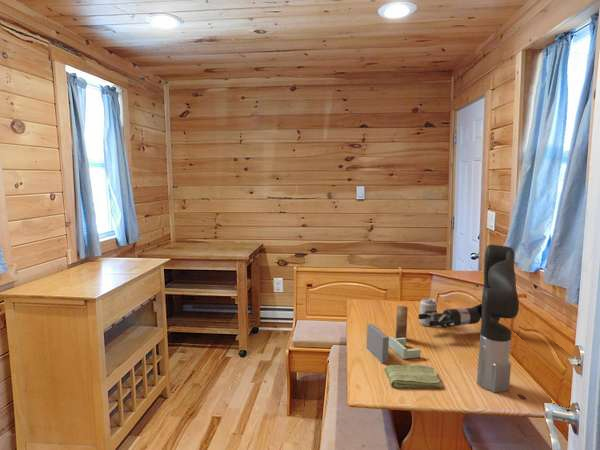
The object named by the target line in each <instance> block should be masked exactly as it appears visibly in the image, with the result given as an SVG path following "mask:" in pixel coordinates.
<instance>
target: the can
mask: <svg viewBox="0 0 600 450" xmlns="http://www.w3.org/2000/svg"><path fill="white" fill-rule="evenodd" d="M437 305H438V303H437V301H436V299H435V298H430V297H424V298H421V301H420V302H419V314H425V311H437V312H438V310H437V309H438V306H437ZM433 319H434V317H433ZM418 321H419V324H421V326H423V327H430V326H429V321H432V320H431V319H419V320H418Z"/></svg>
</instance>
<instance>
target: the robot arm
mask: <svg viewBox="0 0 600 450" xmlns="http://www.w3.org/2000/svg"><path fill="white" fill-rule="evenodd" d="M515 256H516V255H515V250H514V248H512V247H510V246H507V245H506V246H503V245H496V244H488V245H487V247H486V249H485V252H484V262H483V263H484V264H483V290H482V297H481V303H479V304H477V305H475V306H473V307H466V308H465V307H464V308H463V307H462V308H461V307H459V308H447V309H445V310H443V312H438V310H437V311H425V314H420V313H419V314H418V315H417V316H418V319H431V320H432V321H429V326H428V327H441V329H445V328H452V327H453V328H454V327H461V326H466V325H475V324H479V322H481V323H480V336H479V337H480V338H479V346H478V347H479V348H478V361H477V373H476V374H477V376H476V384H477V385H478V386H479V387H481V388H483V389H484V390H487V391H491V392H492V393H500V392H507V391H509V390H510V383H511V381H510V380H511V370H512V363H511V362H510V353H511V341H512V330H511V329H510V328H509V327H507V326H505V325H504V324H502V323H499V322H500V320H501V319H502V318H503V319H511V320H512V319H515V318H516V317H517V315H518V313H519V309H520V302H519V295H518V290H517V288H516V287H517V285H516V284H517V282H516V280H517V279H516V278H517V277H516V271H515ZM433 317H434V319H433Z"/></svg>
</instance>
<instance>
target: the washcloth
mask: <svg viewBox="0 0 600 450" xmlns="http://www.w3.org/2000/svg"><path fill="white" fill-rule="evenodd" d="M383 371H384V372H385V374H386V376H387V378H388V381H389V385H390V386H391V387H392V388H396V389H397V388H398V389H421V388H422V389H425V388H428V389H430V388H431V389H432V388H433V389H440V388H443V384H442V382H441V379H440V377H439V376H438V374H437V372H436V371H435V369H434V367H432V366H429V365H422V364H416V365H415V364H413V365H412V364H410V365H409V364H408V365H404V364H403V365H402V364H390V365H385V366H384V370H383Z"/></svg>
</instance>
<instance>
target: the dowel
mask: <svg viewBox="0 0 600 450" xmlns="http://www.w3.org/2000/svg"><path fill="white" fill-rule="evenodd" d="M408 309H409V308H408V307H407V306H404V305H398V306H396V317H395V318H396V320H395V321H396V323H395V325H396V326H395V338H406V339H407V331H408V330H407V328H408V311H409V310H408Z"/></svg>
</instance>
